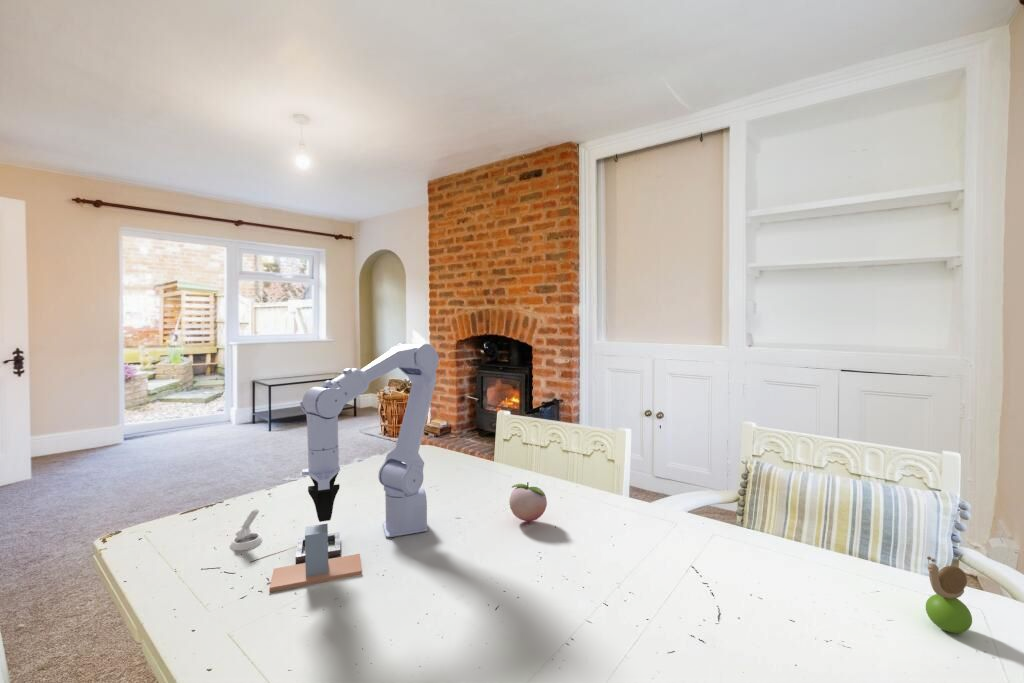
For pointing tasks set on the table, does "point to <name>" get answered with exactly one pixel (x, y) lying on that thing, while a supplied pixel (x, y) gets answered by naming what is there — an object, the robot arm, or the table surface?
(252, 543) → the white handled ring
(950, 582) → the snail figurine
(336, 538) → the iron collar
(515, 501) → the decorative fruit
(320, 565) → the metal peg
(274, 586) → the terracotta tile
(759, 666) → the table surface
